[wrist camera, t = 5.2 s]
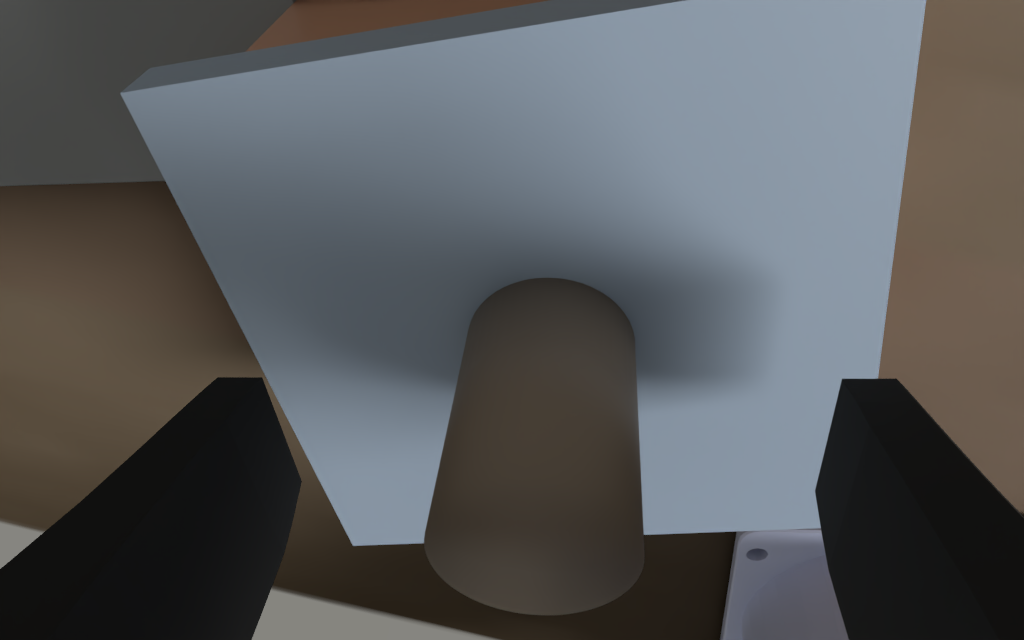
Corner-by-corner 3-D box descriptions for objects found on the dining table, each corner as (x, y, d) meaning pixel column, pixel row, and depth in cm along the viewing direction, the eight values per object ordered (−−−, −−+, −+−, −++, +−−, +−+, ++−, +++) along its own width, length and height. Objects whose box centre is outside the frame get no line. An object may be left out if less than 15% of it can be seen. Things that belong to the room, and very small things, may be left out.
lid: (847, 489, 14) (924, 745, 10) (363, 511, 15) (296, 738, 12) (907, -61, 8) (1109, 108, 5) (150, 67, 10) (-78, 257, 7)
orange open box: (759, 361, 17) (789, 492, 14) (392, 361, 18) (354, 484, 15) (819, -41, 12) (885, 42, 9) (304, -9, 13) (223, 74, 10)
